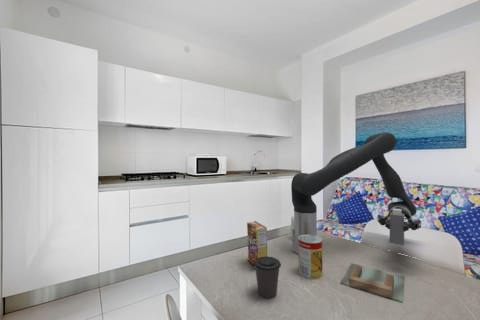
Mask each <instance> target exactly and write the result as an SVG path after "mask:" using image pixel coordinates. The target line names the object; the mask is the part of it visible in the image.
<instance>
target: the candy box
mask: <svg viewBox="0 0 480 320" xmlns="http://www.w3.org/2000/svg"><path fill="white" fill-rule="evenodd" d="M246 227H247V228H246V229H247V258H248V259H247V261H248V260H249V261H250V262H251V263H252V264H253V265H254V261H255V260H256V259H257V258H259V257H269V256H268V227H267V226H265V225H263V224H262V223H259V222H258V221H256V220H255V221H253V220H252V221H249V222H248V221H247V222H246ZM249 261H248V262H249ZM250 262H249V263H250ZM251 263H250V264H251ZM252 264H251V265H252ZM253 265H252V266H253Z"/></svg>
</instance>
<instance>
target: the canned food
mask: <svg viewBox="0 0 480 320" xmlns="http://www.w3.org/2000/svg"><path fill="white" fill-rule="evenodd" d="M298 249H299V254H298V272H299V275H301V276H302V277H303V278H306V279H310V280H311V279H312V280H314V279H315V280H316V279H320V278H322V276H323V239H322V237H321V236H318V235H317V236H315V235H301V236H299V237H298Z"/></svg>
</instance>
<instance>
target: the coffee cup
mask: <svg viewBox="0 0 480 320" xmlns="http://www.w3.org/2000/svg"><path fill="white" fill-rule="evenodd" d="M254 266H255V267H254ZM254 266H253V267H254V268H255V269H254V270H255V277H256V284H257V285H256V286H257V291H258V295H260V296H259V297H261V298H262V299H265V300H266V299H267V300H270V299H274V298H276V296H277V293H278V292H277V291H278V282H279V275H280V274H279V273H280V268H281V266H282V263H281V261H280V260H279V259H277V258H275V257H273V256H268V257H259V258H257V259H256V260H255V261H254Z"/></svg>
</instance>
